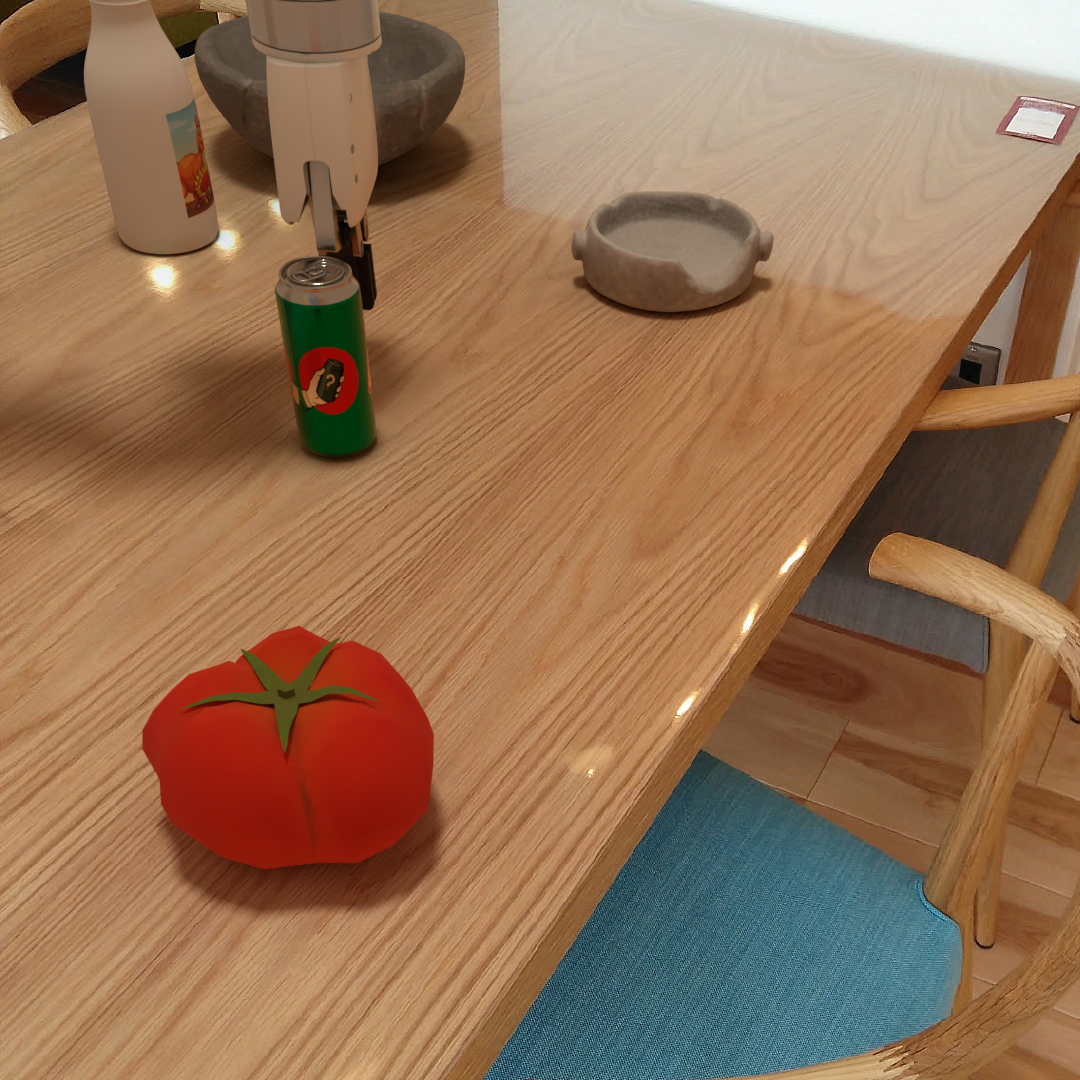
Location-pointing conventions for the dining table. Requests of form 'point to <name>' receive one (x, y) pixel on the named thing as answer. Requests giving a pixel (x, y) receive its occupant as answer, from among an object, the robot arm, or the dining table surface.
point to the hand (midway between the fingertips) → (352, 303)
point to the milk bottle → (147, 131)
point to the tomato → (293, 753)
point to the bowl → (395, 74)
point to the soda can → (326, 355)
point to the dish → (670, 250)
